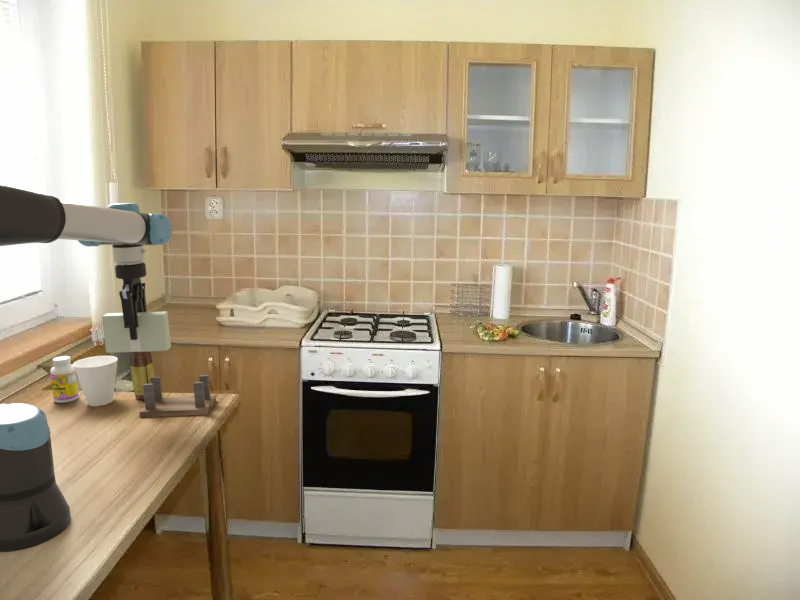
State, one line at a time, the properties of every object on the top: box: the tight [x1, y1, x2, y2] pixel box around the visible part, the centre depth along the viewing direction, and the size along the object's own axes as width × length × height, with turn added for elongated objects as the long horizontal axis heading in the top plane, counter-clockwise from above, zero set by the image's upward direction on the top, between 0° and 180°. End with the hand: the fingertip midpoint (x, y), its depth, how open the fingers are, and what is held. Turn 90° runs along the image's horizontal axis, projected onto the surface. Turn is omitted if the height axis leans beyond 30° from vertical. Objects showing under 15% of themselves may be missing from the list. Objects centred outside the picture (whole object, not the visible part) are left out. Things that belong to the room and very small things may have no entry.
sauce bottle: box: [129, 351, 156, 401], centre depth 193 cm, size 7×6×20 cm
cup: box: [72, 355, 119, 407], centre depth 190 cm, size 12×12×12 cm
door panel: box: [101, 311, 172, 354], centre depth 175 cm, size 4×16×10 cm, turn 92°
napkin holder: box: [139, 374, 217, 418], centre depth 184 cm, size 11×18×8 cm, turn 93°
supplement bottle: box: [49, 355, 80, 404], centre depth 192 cm, size 7×7×13 cm
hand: (139, 348), depth 176 cm, fingers closed on door panel, 4 cm apart
